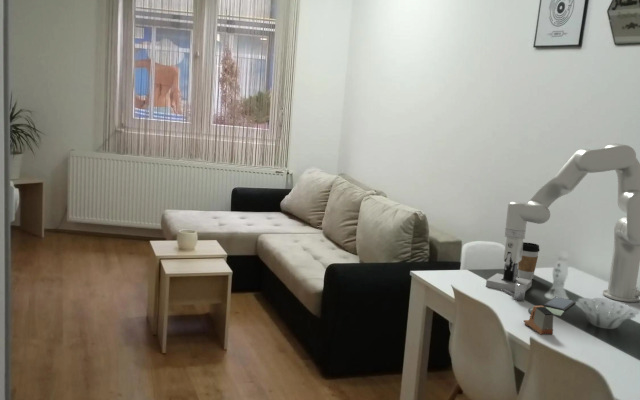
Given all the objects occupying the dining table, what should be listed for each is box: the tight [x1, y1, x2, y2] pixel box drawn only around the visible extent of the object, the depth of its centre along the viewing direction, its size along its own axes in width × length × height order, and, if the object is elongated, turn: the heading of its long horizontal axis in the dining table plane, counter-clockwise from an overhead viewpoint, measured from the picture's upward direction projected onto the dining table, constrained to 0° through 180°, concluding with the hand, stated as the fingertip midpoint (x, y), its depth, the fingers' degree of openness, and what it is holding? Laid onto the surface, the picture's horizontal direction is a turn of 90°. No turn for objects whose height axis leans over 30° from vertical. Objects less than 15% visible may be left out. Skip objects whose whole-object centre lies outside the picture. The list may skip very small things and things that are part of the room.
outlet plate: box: [485, 272, 533, 293], centre depth 233 cm, size 14×14×2 cm
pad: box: [545, 307, 565, 317], centre depth 204 cm, size 6×6×1 cm
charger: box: [503, 262, 518, 283], centre depth 232 cm, size 4×4×8 cm
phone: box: [543, 296, 576, 312], centre depth 214 cm, size 7×14×1 cm, turn 142°
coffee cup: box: [517, 241, 540, 281], centre depth 246 cm, size 8×8×15 cm
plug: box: [513, 283, 526, 303], centre depth 215 cm, size 4×4×6 cm
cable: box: [501, 289, 514, 298], centre depth 223 cm, size 8×1×1 cm, turn 19°
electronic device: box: [523, 305, 554, 336], centre depth 186 cm, size 4×10×8 cm, turn 16°
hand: (509, 278), depth 233 cm, fingers open, 4 cm apart
